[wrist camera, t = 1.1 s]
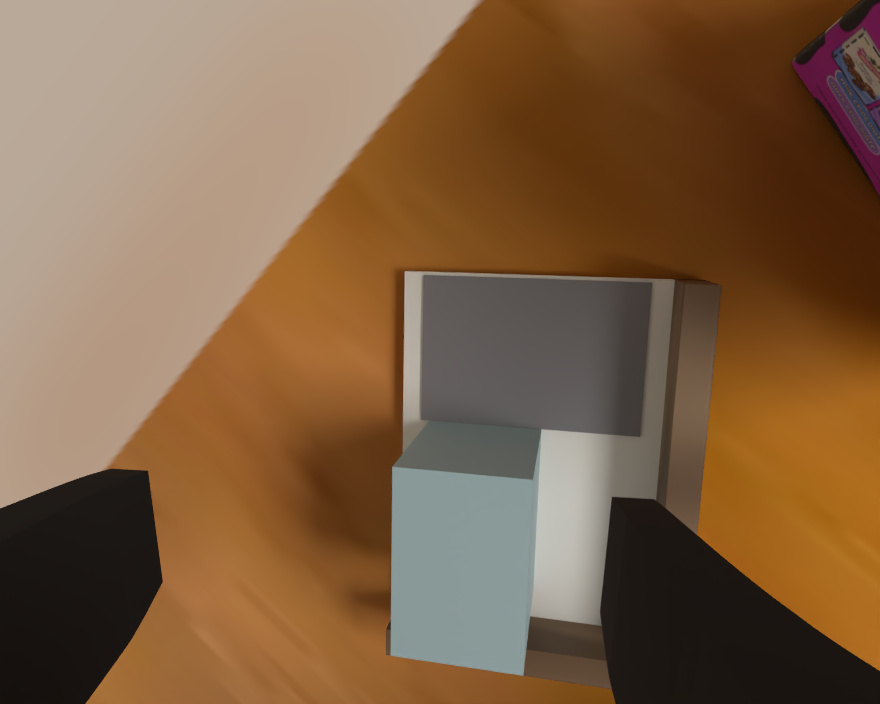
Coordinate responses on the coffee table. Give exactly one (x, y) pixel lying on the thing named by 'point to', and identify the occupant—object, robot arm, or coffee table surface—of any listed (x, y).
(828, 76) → the candy bar box
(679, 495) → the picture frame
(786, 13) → the coffee table surface
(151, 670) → the coffee table surface
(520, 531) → the teal block
